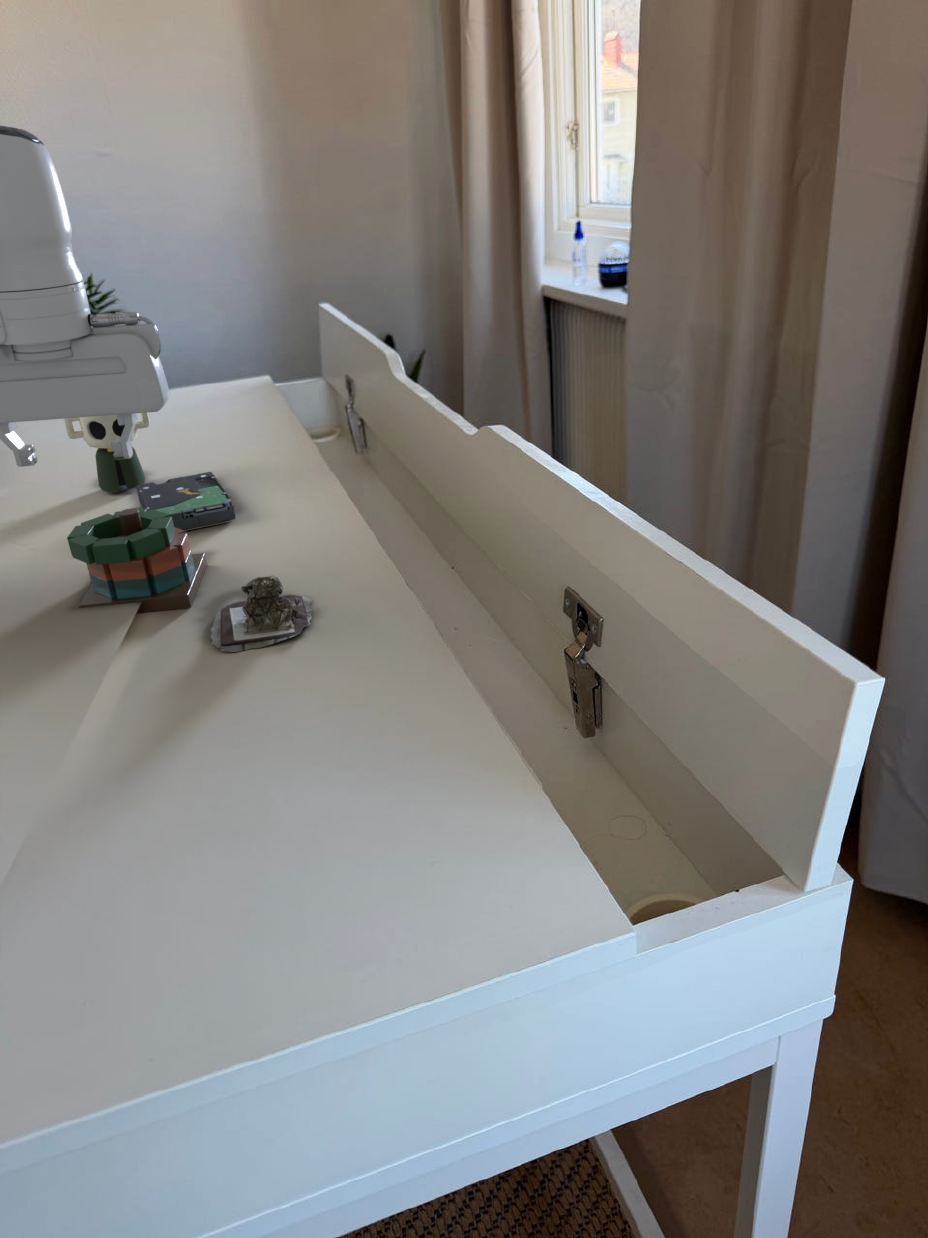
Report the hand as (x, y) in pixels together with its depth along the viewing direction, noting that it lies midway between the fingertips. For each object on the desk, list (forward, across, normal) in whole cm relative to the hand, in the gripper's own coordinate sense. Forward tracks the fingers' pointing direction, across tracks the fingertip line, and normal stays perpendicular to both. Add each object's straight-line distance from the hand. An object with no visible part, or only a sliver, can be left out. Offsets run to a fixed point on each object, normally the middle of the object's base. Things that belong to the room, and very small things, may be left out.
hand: (76, 461), depth 94 cm
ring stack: (+15, -4, 0) cm, 15 cm away
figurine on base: (+15, -17, +10) cm, 25 cm away
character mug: (+15, +7, -37) cm, 41 cm away
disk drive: (+15, -4, -24) cm, 29 cm away
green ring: (+9, -3, 0) cm, 10 cm away
